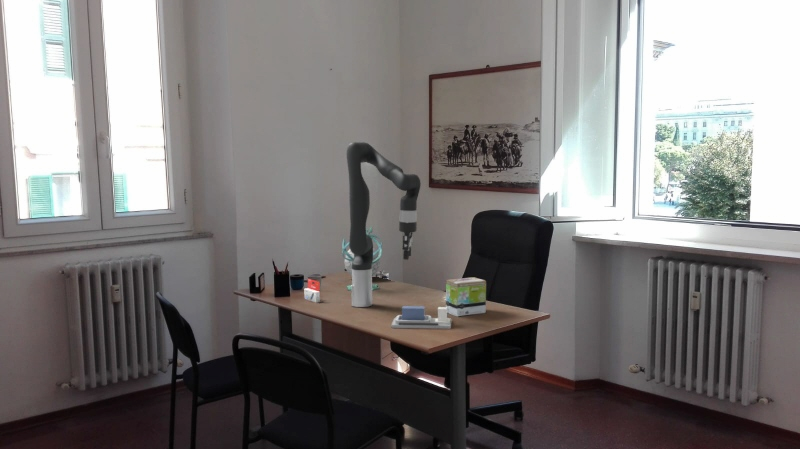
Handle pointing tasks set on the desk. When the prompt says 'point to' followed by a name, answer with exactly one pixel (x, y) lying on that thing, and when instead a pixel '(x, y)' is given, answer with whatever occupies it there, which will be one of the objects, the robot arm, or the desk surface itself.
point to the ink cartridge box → (312, 291)
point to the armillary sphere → (374, 286)
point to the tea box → (465, 296)
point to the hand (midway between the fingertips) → (407, 257)
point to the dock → (425, 321)
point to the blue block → (413, 313)
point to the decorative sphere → (349, 263)
